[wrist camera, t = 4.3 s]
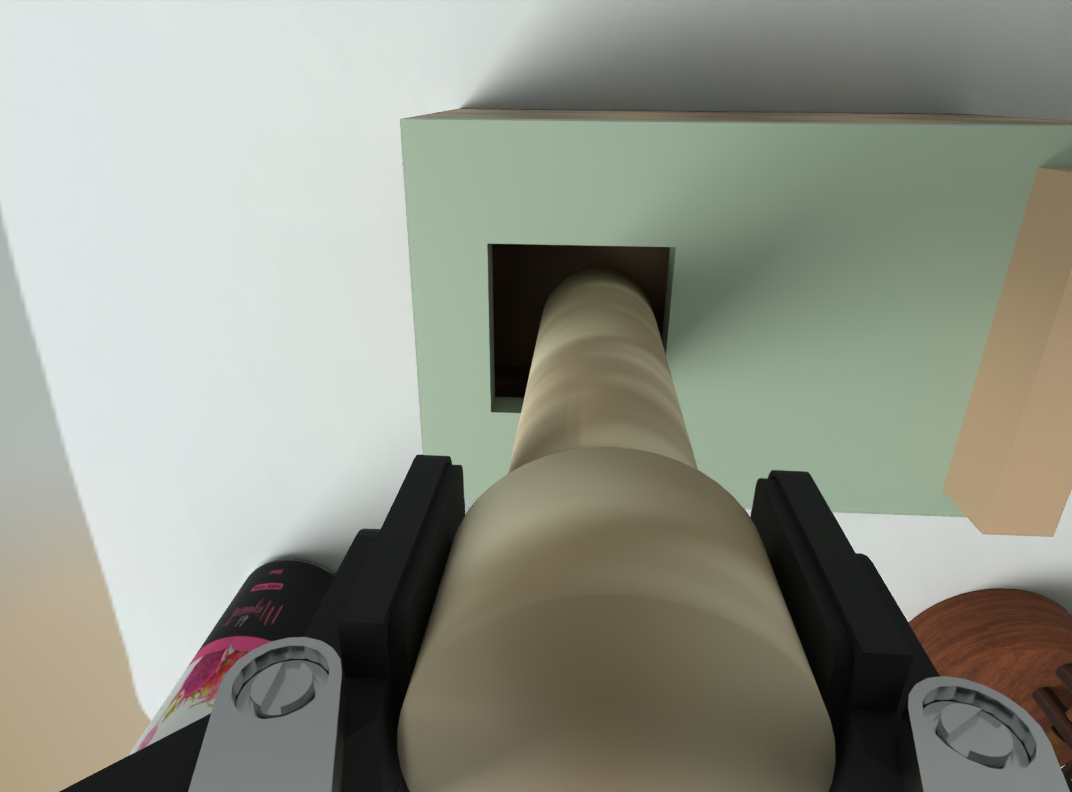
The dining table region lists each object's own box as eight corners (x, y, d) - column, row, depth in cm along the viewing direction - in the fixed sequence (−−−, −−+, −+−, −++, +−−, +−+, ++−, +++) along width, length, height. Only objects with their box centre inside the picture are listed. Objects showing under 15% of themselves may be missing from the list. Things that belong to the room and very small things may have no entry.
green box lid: (1136, 125, 19) (1256, 133, 15) (1007, 499, 24) (1077, 566, 20) (409, 117, 20) (375, 123, 16) (432, 478, 24) (410, 539, 21)
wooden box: (964, 113, 27) (1135, 125, 19) (895, 392, 32) (1006, 498, 24) (459, 108, 28) (410, 117, 20) (468, 380, 33) (432, 477, 25)
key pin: (678, 249, 21) (879, 607, 6) (665, 392, 23) (795, 914, 8) (523, 245, 21) (380, 580, 7) (523, 386, 23) (411, 882, 9)
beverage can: (260, 537, 37) (78, 797, 24) (374, 579, 38) (260, 854, 24) (234, 621, 40) (56, 899, 26) (341, 658, 41) (222, 947, 27)
